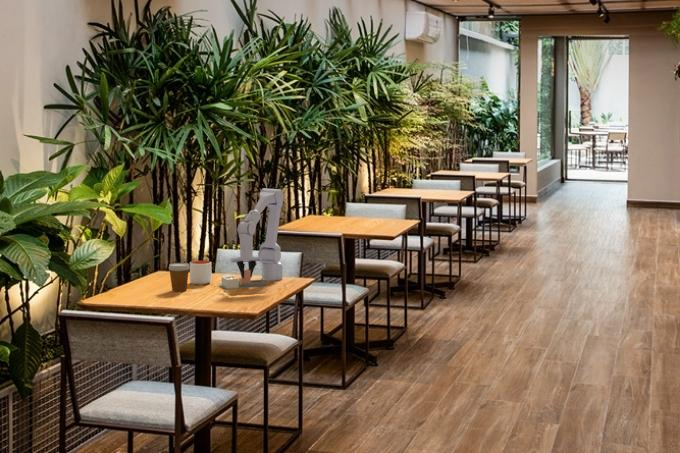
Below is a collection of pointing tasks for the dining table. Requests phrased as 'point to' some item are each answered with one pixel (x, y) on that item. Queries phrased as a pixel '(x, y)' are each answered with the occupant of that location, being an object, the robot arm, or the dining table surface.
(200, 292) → the dining table surface
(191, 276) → the cup
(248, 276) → the figure
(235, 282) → the pitch board
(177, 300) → the dining table surface
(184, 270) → the disposable coffee cup
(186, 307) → the dining table surface
